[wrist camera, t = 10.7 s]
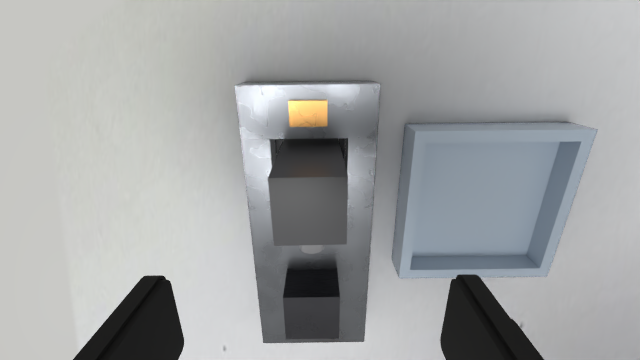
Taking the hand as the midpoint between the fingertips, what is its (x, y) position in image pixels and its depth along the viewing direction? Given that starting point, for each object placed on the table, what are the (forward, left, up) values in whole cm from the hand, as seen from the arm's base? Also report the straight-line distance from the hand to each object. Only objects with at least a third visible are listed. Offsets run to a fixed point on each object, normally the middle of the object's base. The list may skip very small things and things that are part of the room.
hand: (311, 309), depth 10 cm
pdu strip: (0, +5, -14) cm, 15 cm away
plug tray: (-13, +3, -14) cm, 19 cm away
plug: (0, 0, -14) cm, 14 cm away
